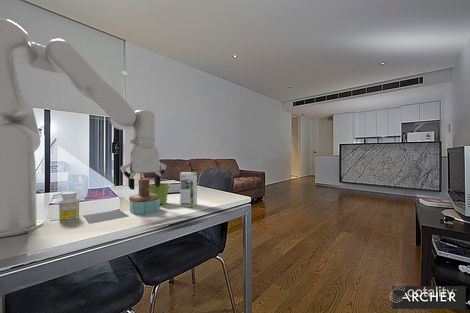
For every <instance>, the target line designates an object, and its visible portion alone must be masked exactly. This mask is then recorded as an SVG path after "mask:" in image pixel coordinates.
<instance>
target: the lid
mask: <svg viewBox="0 0 470 313" xmlns="http://www.w3.org/2000/svg"><path fill="white" fill-rule="evenodd" d="M149 184H150V179H148V178H141V179H140V178H139V179H138V193H136V194H133V195H132V194H131V195H129V197H128V198H129V199H128V201H129V202H130V201H132V202H147V201H153V200H156V199H158V194H153V193H150V189H149Z"/></svg>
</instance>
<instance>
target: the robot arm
mask: <svg viewBox="0 0 470 313" xmlns="http://www.w3.org/2000/svg"><path fill="white" fill-rule="evenodd" d="M14 63H15V64H17V65H19V66H23V67H27V68H31V69H34V70H35V69H36V70H40V71H44V72H48V73H52V74H53V73H54V74H58V75H63V77H64V78H66V80H67V81H69V83H70V84H72V86H73V87H74V88H75V89H76V90H77V91H78V92H79V93H80V94H81V95H83V96H85V97H86V98H89V99H91V101H93V102H94V103H96V104H97V105H98V107H100V109H102V111H104V113H105V114H106V115H107V116H109V122H110V124H111V126H112V127H113V128H114V129H118V130H126V131H127V130H133V139H129V144H132V145H133V146H132V148H131V149H130V150H131V151H130V158H129V159H130V160H129V162H128V163H126V164H123V165H121V166H120V168H119V169H120V170H121V172H122V174H123V175H124V176H125V177H126V178H127V180H128V181H127V184H128V188H129V189H130V190H132V191H134V190H135V179H134V177H135V176H136V174H148V173H150V174H151V173H153V174H154V175H155V176H154V184H155V186H156V187H159V184H160V183H161V177H162V175H163V174H164V173H165V171H166V169H167V165H166V164H165V163H162V162H160V154H159V149H158V146H156V130H155V129H156V124H155V123H156V122H155V119H156V116H155V113H154V112H153V111H151V110H144V109H139V110H134V109H133V107H132V106H131V105H130V104H129V102H128V101H127V100H126V99H125V98H124V97H123V96H122V95H121V94H120V93H119V92H118V91H117V90H116V89H115V88H114V87H113V86H111V85H110V84H109V83H108V82H107V81H106V80H105V79H104V78H102V76H101V75H99V73H98V72H97V71H96V70H95V69H94V68H93V66H92V65H90V63H89V62H88V61H87V60H86V59H85V58H84V57H83V55H81V53H80V52H79V51H78V50H77V49H76V48H75V47H74V46H73V44H71V43H70V42H68V41H66V40H65V39H61V38H54V39H51V40H49V41H48V42H47V43H46V44H45V45H43V44H38V43H35V42H33V41H32V39H31V37H30V36H29V34H28V33H27V31H25V29H24V28H22V26H20V25H19V24H17V23H16V22H14V21H12V20H10V19H6V18H0V238H5V237H12V236H18V235H22V234H26V233H29V232H30V231H33V230H36V229H39V228H40V227H42V226H44V221H43V220H40V219H37V218H38V217H37V216H38V215H37V214H38V212H37V211H38V210H37V176H36V174H37V173H36V171H37V170H36V159H35V158H36V156H35V152H36V151H37V150H38V149H39V148H40V145H41V136H40V132H39V127H38V124H37V119H36V115H35V112H34V108H33V106H32V104H31V102H30V101H29V99H28V98H26V97H25V96H24V94H23V92H22V90H21V85H20V83H19V79H18V78H19V77H18V73H17V70H16V67H15V64H14ZM127 168H129V171H130V172H128V171H127Z"/></svg>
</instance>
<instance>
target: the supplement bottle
mask: <svg viewBox="0 0 470 313" xmlns="http://www.w3.org/2000/svg"><path fill="white" fill-rule="evenodd" d="M58 205H59V207H58V208H59V222H61V223H68V222H73V221H77V220H79V219H80V199H79V198H77V191H66V192H62V193H61V199H60V200H59V202H58Z"/></svg>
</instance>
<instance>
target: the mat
mask: <svg viewBox="0 0 470 313" xmlns="http://www.w3.org/2000/svg"><path fill="white" fill-rule="evenodd" d="M82 217H83V218H84V219H85V221H86V222H87V223H88V224H89V225H90V224H95V223H101V222H107V221H112V220H118V219H124V218H128V217H130V216H129V215H128V214H126V213H125V212H124V211H122V210H121V209H115V210H111V211H110V210H109V211H104V212H98V213H91V214H86V215H82Z"/></svg>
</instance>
